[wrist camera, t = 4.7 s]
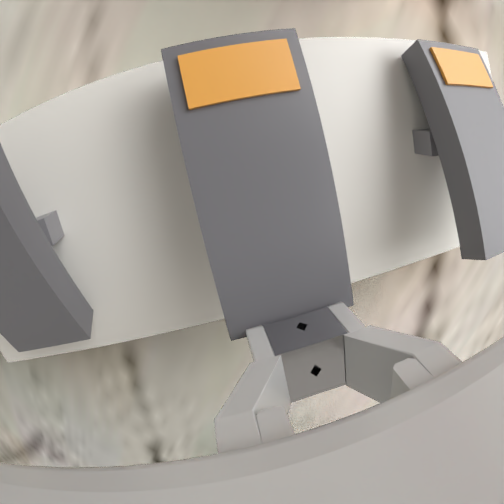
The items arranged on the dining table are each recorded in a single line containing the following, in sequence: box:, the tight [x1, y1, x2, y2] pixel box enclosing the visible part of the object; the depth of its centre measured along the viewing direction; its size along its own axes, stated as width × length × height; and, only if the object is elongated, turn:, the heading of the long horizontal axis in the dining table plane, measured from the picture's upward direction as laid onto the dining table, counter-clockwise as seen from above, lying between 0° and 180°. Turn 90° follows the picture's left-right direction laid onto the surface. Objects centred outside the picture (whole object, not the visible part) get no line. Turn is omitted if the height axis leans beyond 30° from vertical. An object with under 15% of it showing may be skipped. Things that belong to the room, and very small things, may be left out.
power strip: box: [0, 37, 492, 363], centre depth 13 cm, size 10×38×5 cm, turn 102°
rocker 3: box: [401, 39, 504, 260], centre depth 10 cm, size 8×4×2 cm, turn 11°
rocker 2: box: [161, 28, 354, 341], centre depth 9 cm, size 8×4×2 cm, turn 12°
